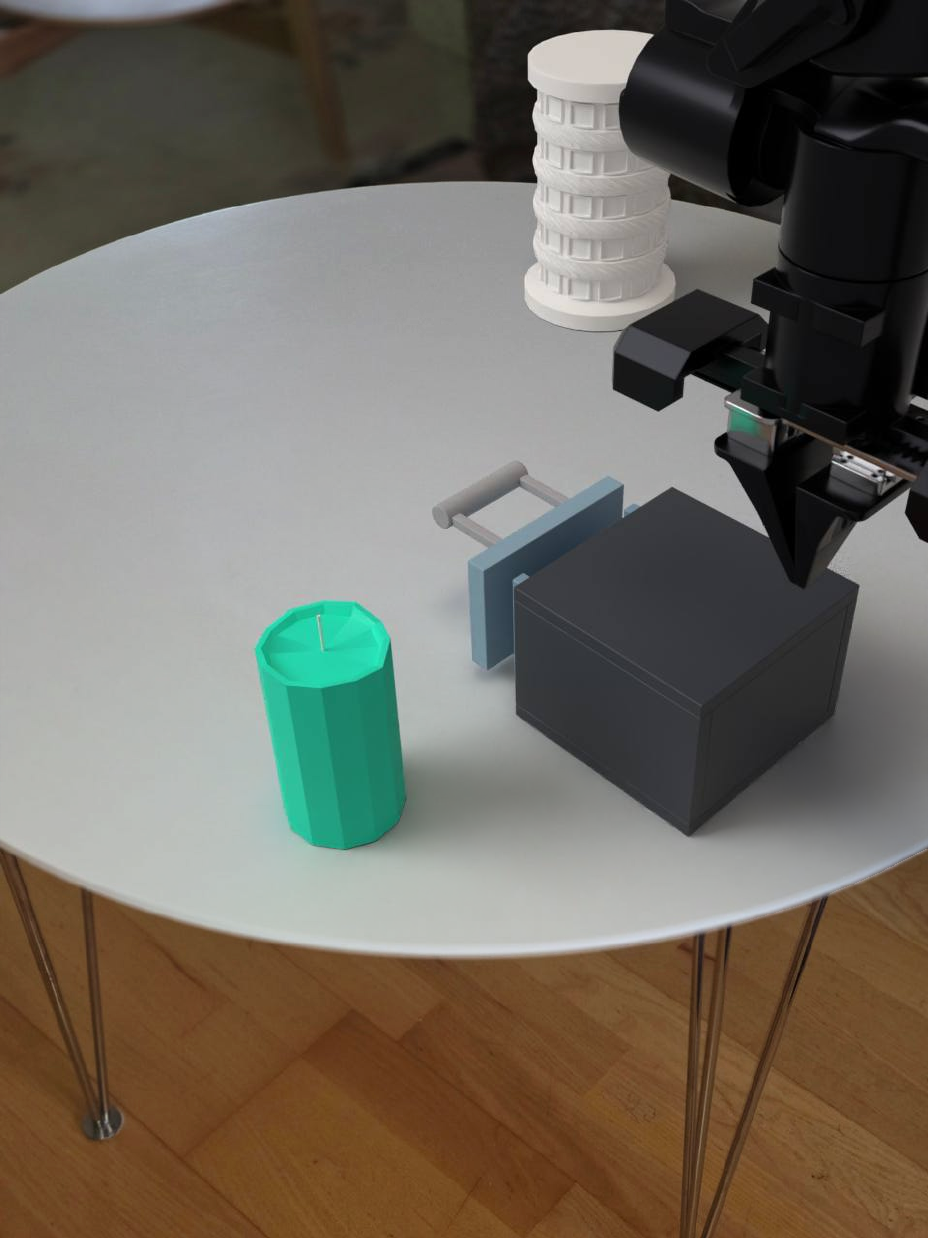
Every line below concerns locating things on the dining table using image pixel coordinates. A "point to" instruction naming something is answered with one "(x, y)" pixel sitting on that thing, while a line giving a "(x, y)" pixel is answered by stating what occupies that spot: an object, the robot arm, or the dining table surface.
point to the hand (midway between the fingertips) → (804, 581)
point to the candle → (333, 722)
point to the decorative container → (593, 190)
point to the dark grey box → (679, 655)
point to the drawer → (521, 547)
